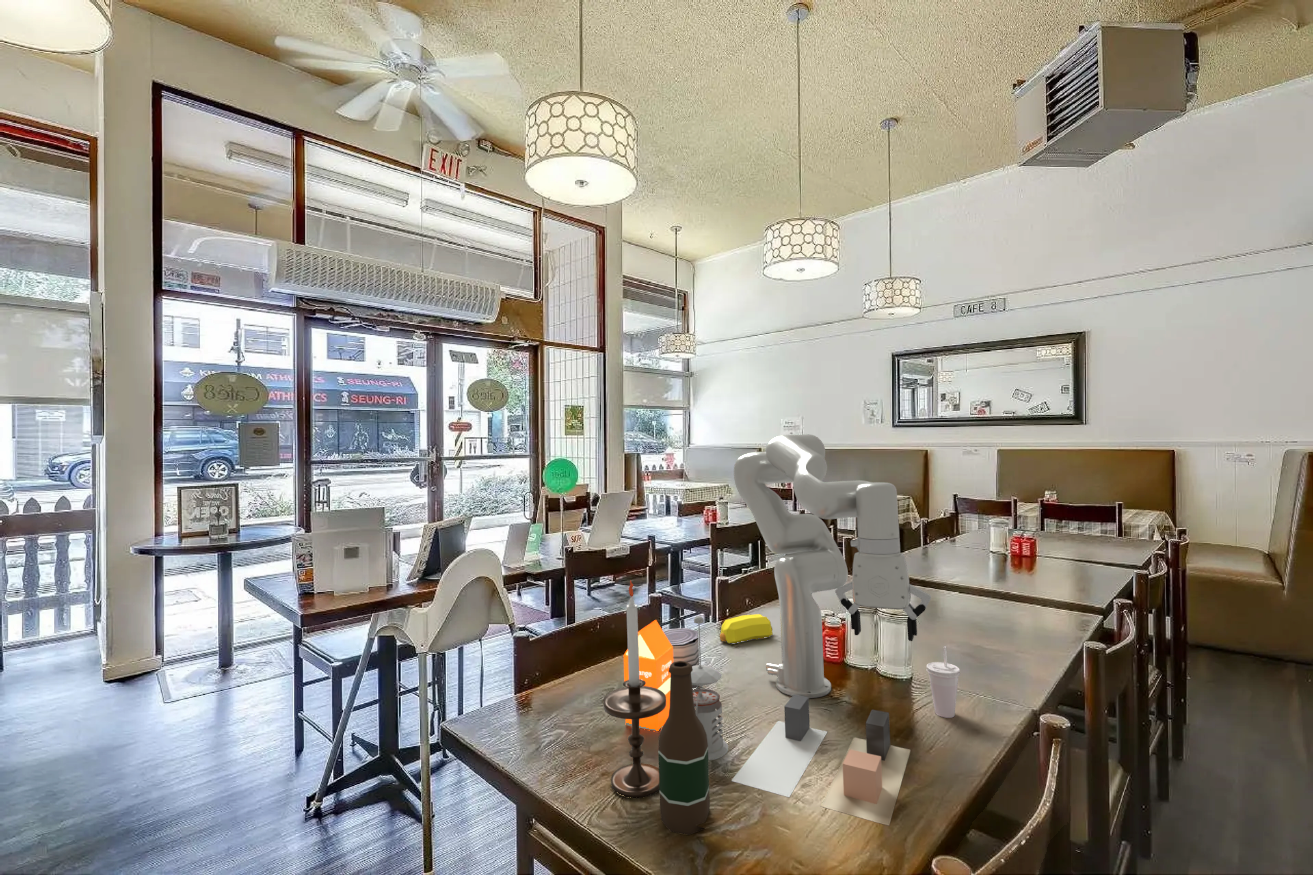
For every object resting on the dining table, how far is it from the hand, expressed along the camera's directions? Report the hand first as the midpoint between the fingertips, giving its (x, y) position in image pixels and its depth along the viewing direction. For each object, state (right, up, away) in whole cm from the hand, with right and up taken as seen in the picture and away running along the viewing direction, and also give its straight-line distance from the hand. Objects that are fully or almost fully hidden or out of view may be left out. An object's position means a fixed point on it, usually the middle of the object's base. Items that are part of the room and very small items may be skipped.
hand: (883, 636), depth 112 cm
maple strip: (-8, -20, -14) cm, 26 cm away
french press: (-35, -21, -1) cm, 41 cm away
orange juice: (-45, -22, +12) cm, 51 cm away
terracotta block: (-10, -19, -18) cm, 28 cm away
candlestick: (-47, -22, -11) cm, 53 cm away
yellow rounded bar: (-17, -22, +61) cm, 67 cm away
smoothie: (+17, -20, +10) cm, 28 cm away
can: (-39, -22, +30) cm, 54 cm away
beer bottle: (-39, -21, -22) cm, 50 cm away
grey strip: (-21, -21, -6) cm, 30 cm away
